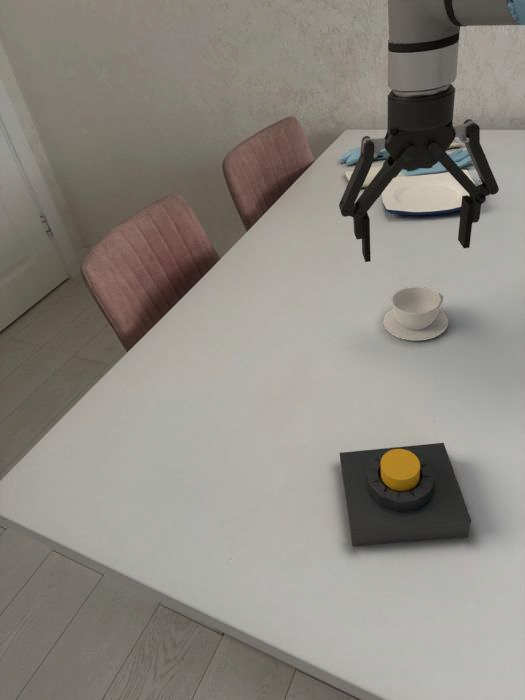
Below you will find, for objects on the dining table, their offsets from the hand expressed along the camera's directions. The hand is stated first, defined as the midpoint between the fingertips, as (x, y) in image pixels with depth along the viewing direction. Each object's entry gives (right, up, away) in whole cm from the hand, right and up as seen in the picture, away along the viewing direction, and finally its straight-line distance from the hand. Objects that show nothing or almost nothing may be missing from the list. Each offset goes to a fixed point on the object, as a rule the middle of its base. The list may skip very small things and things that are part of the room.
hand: (414, 250), depth 71 cm
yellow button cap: (-7, -28, -18) cm, 33 cm away
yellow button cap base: (-6, -31, -15) cm, 35 cm away
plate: (+16, +20, +43) cm, 50 cm away
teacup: (+3, -10, +9) cm, 14 cm away
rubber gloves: (+16, +36, +63) cm, 75 cm away
